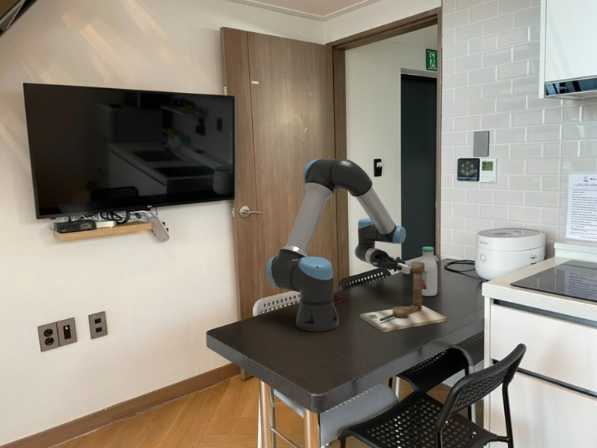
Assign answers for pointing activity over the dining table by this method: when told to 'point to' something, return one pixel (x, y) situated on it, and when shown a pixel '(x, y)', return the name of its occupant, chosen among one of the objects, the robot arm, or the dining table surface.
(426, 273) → the milk bottle
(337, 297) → the cell phone
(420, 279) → the wooden l-shaped rod
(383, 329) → the beige flat rectangular board
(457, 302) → the dining table surface
